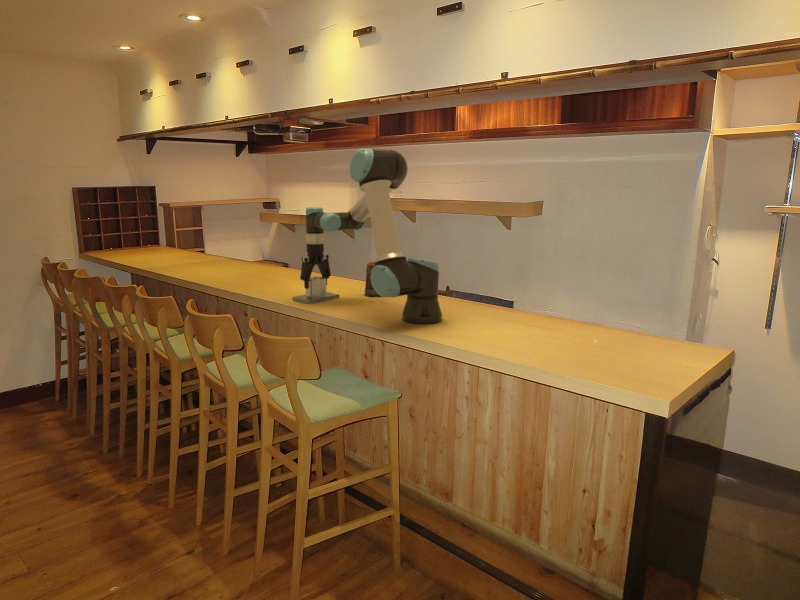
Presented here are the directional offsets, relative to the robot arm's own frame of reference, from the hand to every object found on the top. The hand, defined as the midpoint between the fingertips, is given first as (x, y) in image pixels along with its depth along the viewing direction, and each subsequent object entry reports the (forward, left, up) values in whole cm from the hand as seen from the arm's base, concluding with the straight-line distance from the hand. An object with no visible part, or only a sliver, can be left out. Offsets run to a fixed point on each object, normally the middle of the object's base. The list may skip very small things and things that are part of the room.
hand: (316, 294), depth 236 cm
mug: (-15, -26, -3) cm, 30 cm away
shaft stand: (0, 0, -2) cm, 2 cm away
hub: (0, 0, -1) cm, 1 cm away
